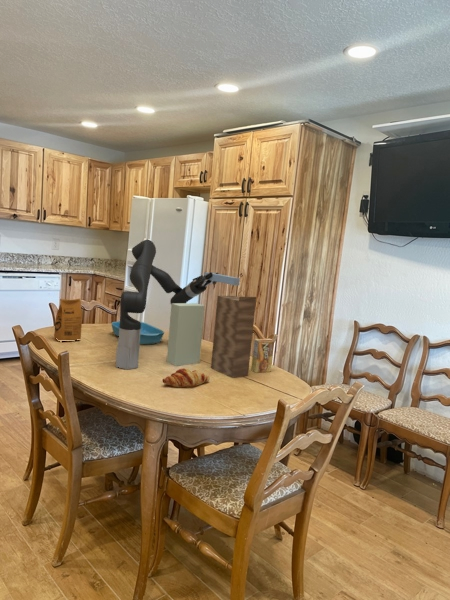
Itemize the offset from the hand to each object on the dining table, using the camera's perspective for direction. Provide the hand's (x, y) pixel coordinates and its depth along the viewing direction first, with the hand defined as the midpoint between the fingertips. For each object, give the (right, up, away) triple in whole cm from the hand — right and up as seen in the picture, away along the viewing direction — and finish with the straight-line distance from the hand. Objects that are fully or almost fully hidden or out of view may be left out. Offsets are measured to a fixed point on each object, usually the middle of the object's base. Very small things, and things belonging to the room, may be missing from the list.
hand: (214, 274), depth 202 cm
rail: (+3, -4, -4) cm, 6 cm away
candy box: (+22, -46, -2) cm, 51 cm away
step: (-15, -42, 0) cm, 45 cm away
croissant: (-11, -47, -31) cm, 57 cm away
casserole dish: (-46, -35, +39) cm, 69 cm away
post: (+7, -45, -8) cm, 46 cm away
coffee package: (-78, -34, +21) cm, 87 cm away
